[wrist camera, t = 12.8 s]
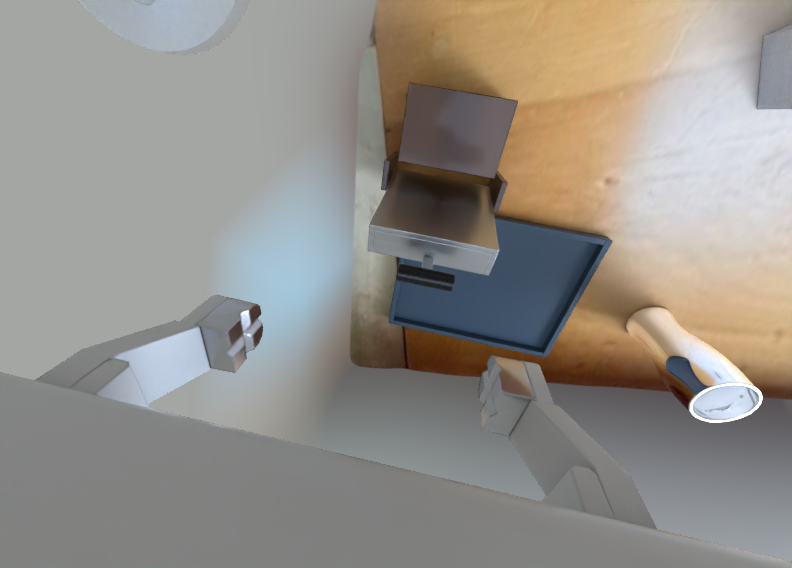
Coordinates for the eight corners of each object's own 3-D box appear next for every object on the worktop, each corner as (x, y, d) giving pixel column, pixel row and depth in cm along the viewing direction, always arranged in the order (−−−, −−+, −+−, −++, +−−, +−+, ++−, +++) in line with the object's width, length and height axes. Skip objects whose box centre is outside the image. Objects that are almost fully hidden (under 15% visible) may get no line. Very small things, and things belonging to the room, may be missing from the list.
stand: (391, 177, 41) (381, 189, 35) (404, 85, 36) (394, 79, 29) (490, 196, 40) (498, 212, 34) (519, 104, 35) (534, 102, 28)
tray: (389, 317, 53) (388, 323, 52) (410, 198, 42) (409, 201, 41) (543, 351, 52) (546, 357, 50) (607, 236, 41) (612, 241, 39)
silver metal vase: (623, 307, 45) (691, 384, 33) (678, 300, 44) (773, 379, 31) (621, 342, 48) (682, 425, 36) (672, 336, 47) (756, 422, 34)
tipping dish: (397, 168, 38) (394, 192, 41) (358, 245, 24) (357, 275, 27) (489, 186, 38) (481, 209, 40) (503, 274, 24) (490, 303, 26)
